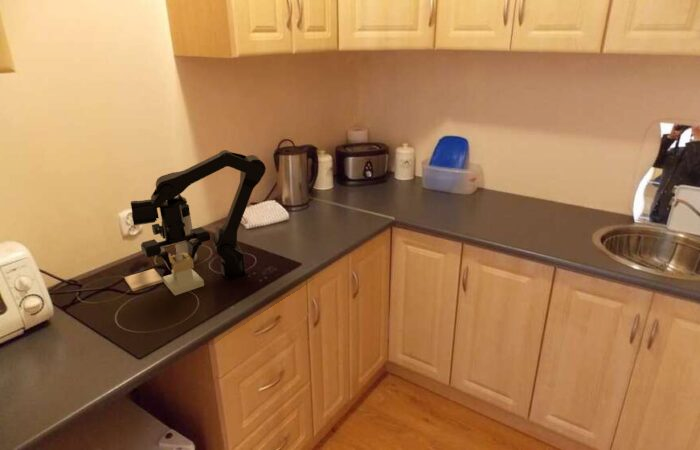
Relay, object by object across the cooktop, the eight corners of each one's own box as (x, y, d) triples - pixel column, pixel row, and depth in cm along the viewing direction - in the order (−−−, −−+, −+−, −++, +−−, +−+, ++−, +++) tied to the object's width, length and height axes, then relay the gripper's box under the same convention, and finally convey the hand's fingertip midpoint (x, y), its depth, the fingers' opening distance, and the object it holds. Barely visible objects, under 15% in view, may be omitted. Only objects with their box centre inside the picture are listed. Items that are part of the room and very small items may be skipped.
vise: (192, 273, 149) (187, 245, 145) (204, 285, 142) (199, 256, 138) (163, 282, 144) (158, 253, 140) (174, 295, 137) (169, 265, 133)
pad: (154, 271, 151) (153, 268, 151) (163, 281, 144) (162, 279, 144) (124, 280, 146) (124, 277, 146) (132, 291, 139) (132, 288, 139)
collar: (186, 260, 145) (185, 251, 143) (194, 267, 140) (192, 258, 139) (167, 266, 141) (165, 257, 140) (174, 273, 137) (172, 264, 136)
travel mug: (190, 265, 154) (181, 209, 146) (174, 263, 156) (164, 207, 148) (202, 257, 160) (193, 203, 152) (185, 255, 162) (176, 201, 154)
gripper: (193, 204, 146) (200, 249, 152) (130, 219, 135) (141, 266, 141) (207, 214, 138) (214, 261, 144) (142, 230, 127) (152, 280, 133)
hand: (180, 266), depth 141 cm, fingers closed on collar, 6 cm apart
